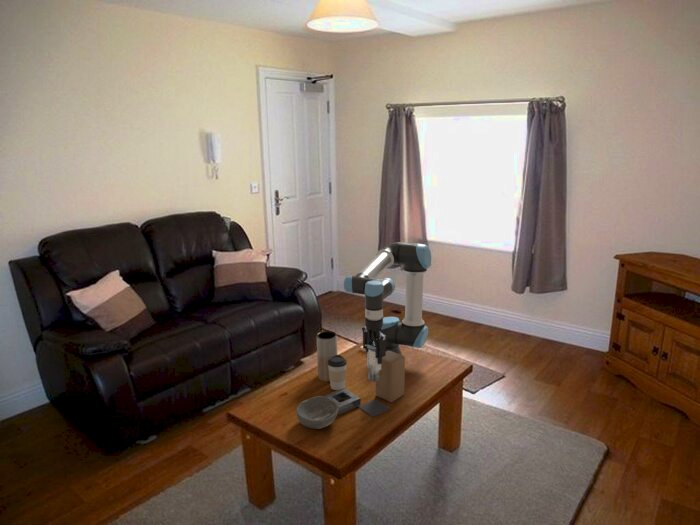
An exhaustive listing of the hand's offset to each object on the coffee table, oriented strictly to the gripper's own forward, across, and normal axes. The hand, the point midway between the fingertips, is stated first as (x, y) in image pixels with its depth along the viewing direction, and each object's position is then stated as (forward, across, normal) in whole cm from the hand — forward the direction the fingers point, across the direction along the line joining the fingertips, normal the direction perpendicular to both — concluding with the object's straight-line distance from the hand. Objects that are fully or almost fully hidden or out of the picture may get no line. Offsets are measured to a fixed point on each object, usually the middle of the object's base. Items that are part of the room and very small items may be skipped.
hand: (374, 367), depth 214 cm
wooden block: (+20, -4, +13) cm, 24 cm away
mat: (+20, 0, 0) cm, 20 cm away
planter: (+20, -37, +1) cm, 42 cm away
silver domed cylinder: (+5, 0, 0) cm, 5 cm away
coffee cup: (+20, -26, -1) cm, 33 cm away
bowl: (+20, -6, -26) cm, 33 cm away
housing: (+20, -12, -9) cm, 25 cm away
